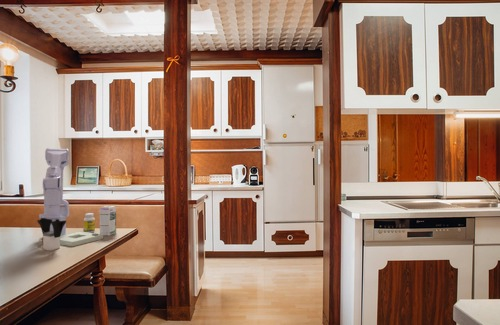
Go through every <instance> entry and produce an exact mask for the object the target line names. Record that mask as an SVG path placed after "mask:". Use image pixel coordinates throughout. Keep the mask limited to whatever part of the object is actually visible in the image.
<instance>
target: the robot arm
mask: <svg viewBox="0 0 500 325" xmlns="http://www.w3.org/2000/svg"><path fill="white" fill-rule="evenodd" d="M44 153H45V154H44V157H45V162H46V164H47V166H48V167H47V168H46V173H45V178H43V179H42V189H43V193H42V194H43V195H44V196H43V213H39V215H38V216H39V219H37V223H38V225H39V227H40V229H41V232H42V234H43V233H45V232H50V231H54V237H55V238H57V237H60V236H61V235H66V234H67V225H66V224H67V218H69V216H70V203H69V202H68V200H66V199H65V198H63V197H64V196H63V195H64V169H65V167H67V166H68V165H69V164H70V150H69V148H49V147H48V148H46V149H45V152H44Z"/></svg>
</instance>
